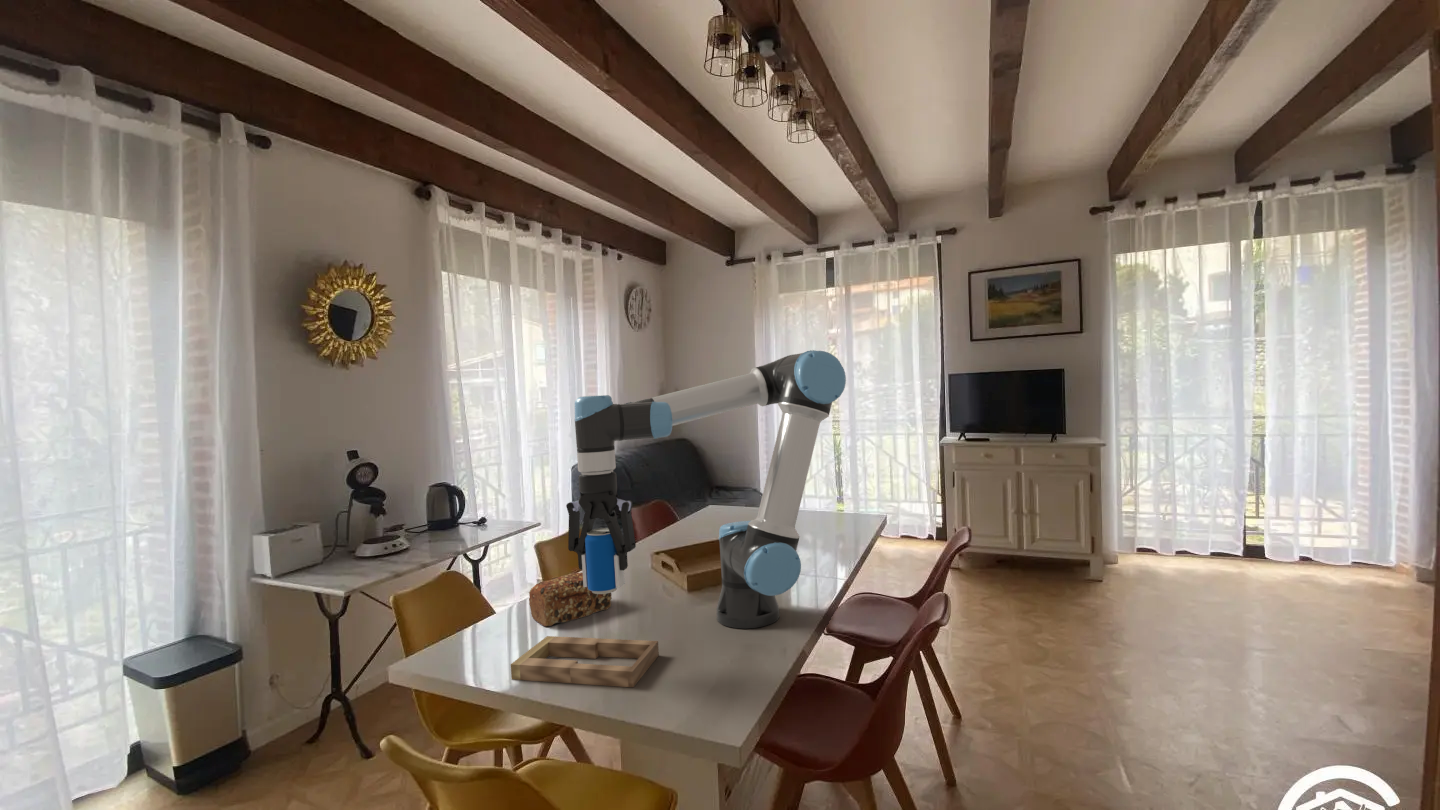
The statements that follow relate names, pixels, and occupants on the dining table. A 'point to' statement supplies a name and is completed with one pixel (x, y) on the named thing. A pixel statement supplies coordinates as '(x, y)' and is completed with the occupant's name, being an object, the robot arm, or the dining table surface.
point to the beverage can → (600, 561)
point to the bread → (565, 600)
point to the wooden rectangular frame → (570, 671)
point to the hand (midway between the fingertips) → (604, 585)
